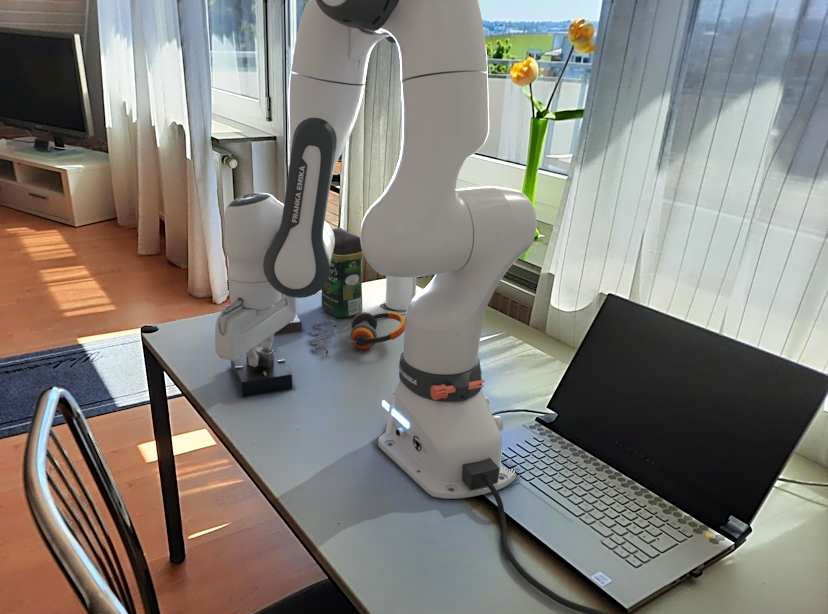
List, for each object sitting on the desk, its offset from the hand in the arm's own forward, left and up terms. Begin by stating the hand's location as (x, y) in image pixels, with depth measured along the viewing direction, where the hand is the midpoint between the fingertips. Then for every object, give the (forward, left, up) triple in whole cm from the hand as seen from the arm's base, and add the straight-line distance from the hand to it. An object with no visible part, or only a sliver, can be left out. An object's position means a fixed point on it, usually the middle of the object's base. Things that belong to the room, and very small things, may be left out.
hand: (260, 361), depth 118 cm
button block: (+23, -8, -4) cm, 25 cm away
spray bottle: (+24, -38, -4) cm, 45 cm away
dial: (0, 0, -1) cm, 1 cm away
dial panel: (0, 0, -4) cm, 4 cm away
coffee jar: (+25, -24, -4) cm, 35 cm away
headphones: (+9, -22, -4) cm, 24 cm away
